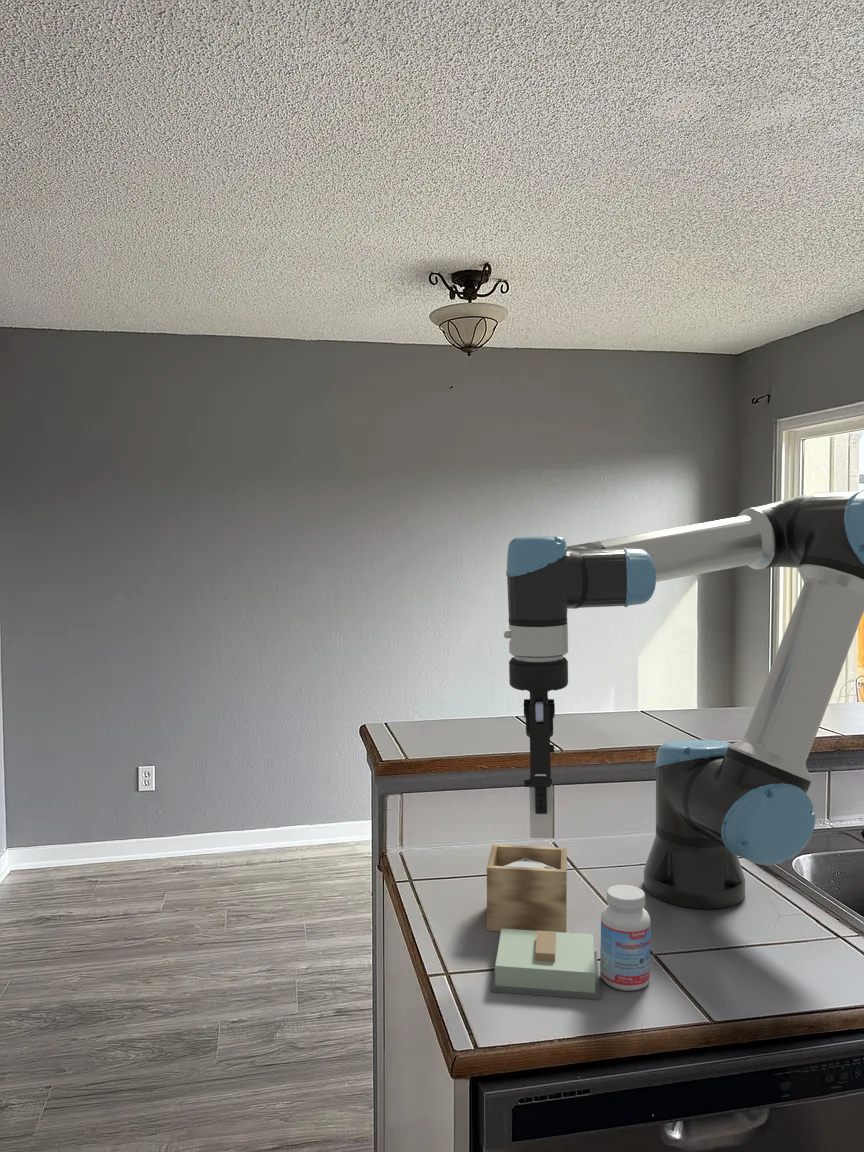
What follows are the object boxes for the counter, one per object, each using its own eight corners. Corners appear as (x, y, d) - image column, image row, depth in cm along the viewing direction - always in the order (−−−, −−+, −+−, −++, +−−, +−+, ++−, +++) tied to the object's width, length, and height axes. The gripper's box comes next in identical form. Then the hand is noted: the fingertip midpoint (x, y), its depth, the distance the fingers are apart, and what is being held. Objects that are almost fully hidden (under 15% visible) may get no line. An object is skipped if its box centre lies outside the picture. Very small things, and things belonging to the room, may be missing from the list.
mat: (596, 955, 117) (596, 951, 117) (599, 999, 106) (599, 995, 106) (498, 948, 119) (498, 944, 119) (491, 991, 108) (491, 987, 108)
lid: (592, 952, 116) (592, 927, 116) (594, 993, 107) (595, 964, 106) (501, 946, 118) (501, 921, 118) (495, 985, 108) (495, 957, 108)
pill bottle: (619, 997, 107) (619, 906, 106) (590, 973, 112) (591, 886, 111) (660, 986, 109) (661, 897, 108) (630, 963, 115) (631, 878, 114)
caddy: (566, 907, 131) (566, 847, 131) (566, 935, 122) (566, 871, 122) (492, 902, 133) (492, 844, 132) (486, 930, 124) (486, 867, 123)
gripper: (511, 642, 127) (514, 788, 128) (505, 674, 102) (509, 854, 103) (564, 642, 126) (566, 788, 127) (571, 674, 101) (574, 855, 102)
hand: (541, 818), depth 115 cm, fingers open, 13 cm apart
